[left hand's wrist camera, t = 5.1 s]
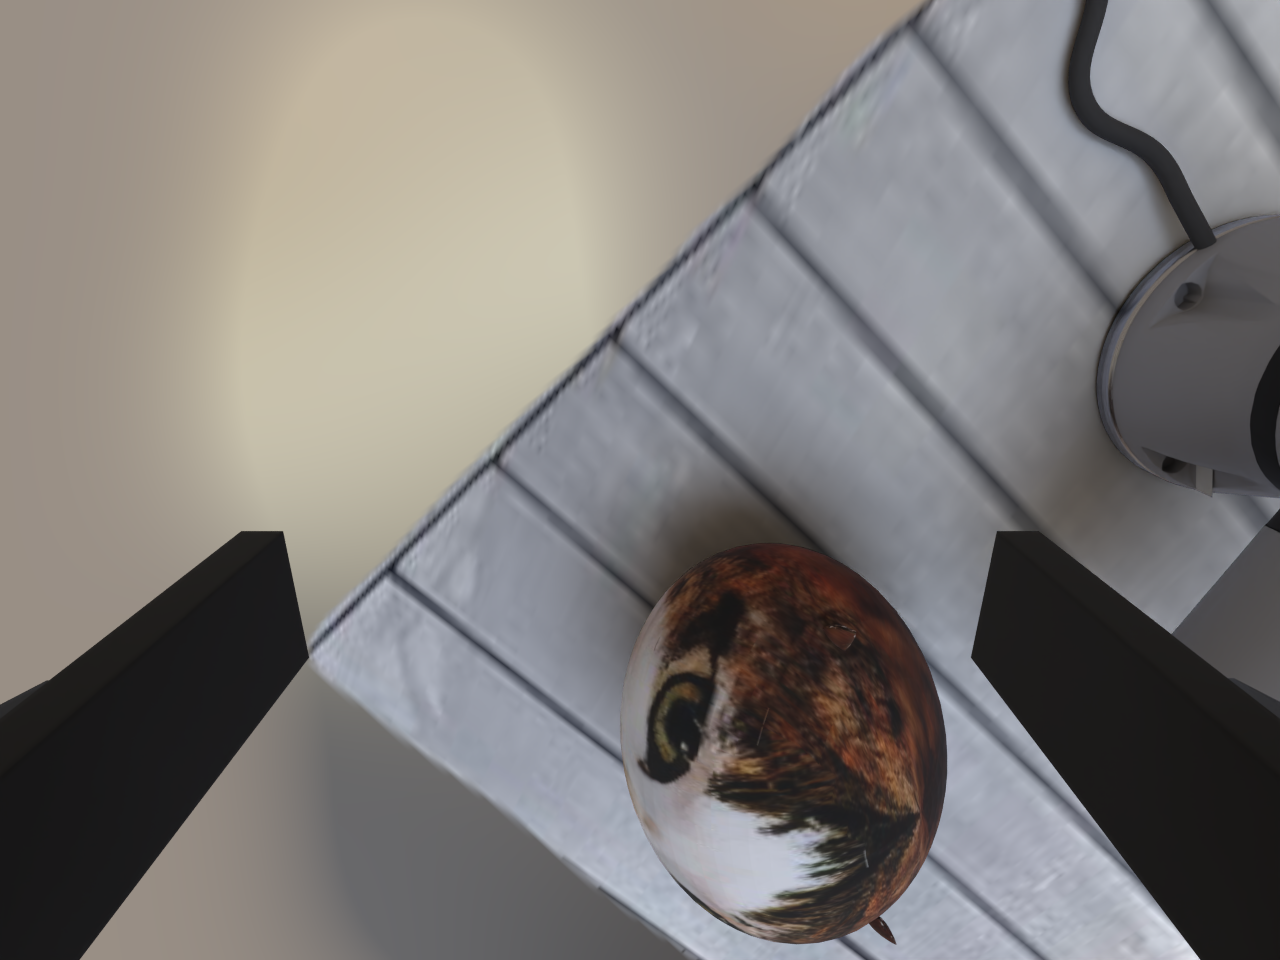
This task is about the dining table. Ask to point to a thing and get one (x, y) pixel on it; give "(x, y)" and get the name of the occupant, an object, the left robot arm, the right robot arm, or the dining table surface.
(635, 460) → the dining table surface
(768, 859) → the cat face balloon
